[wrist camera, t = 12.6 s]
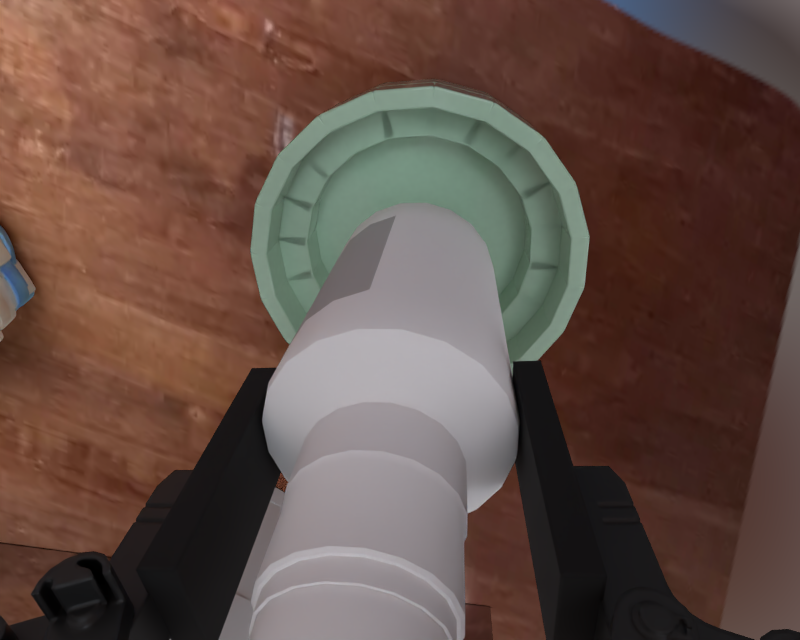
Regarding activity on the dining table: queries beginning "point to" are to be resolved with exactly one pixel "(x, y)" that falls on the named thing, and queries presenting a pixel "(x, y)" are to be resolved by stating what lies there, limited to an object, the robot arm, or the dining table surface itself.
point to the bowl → (425, 201)
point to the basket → (11, 283)
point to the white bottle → (387, 435)
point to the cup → (252, 575)
